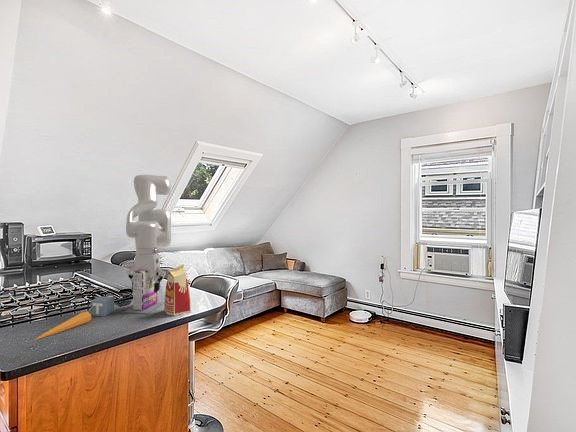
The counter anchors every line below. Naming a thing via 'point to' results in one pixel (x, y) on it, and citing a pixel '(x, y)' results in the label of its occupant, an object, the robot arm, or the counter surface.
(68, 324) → the carrot
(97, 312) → the letter cube
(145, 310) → the mat
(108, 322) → the counter surface
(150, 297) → the candy bar box
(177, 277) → the milk carton
